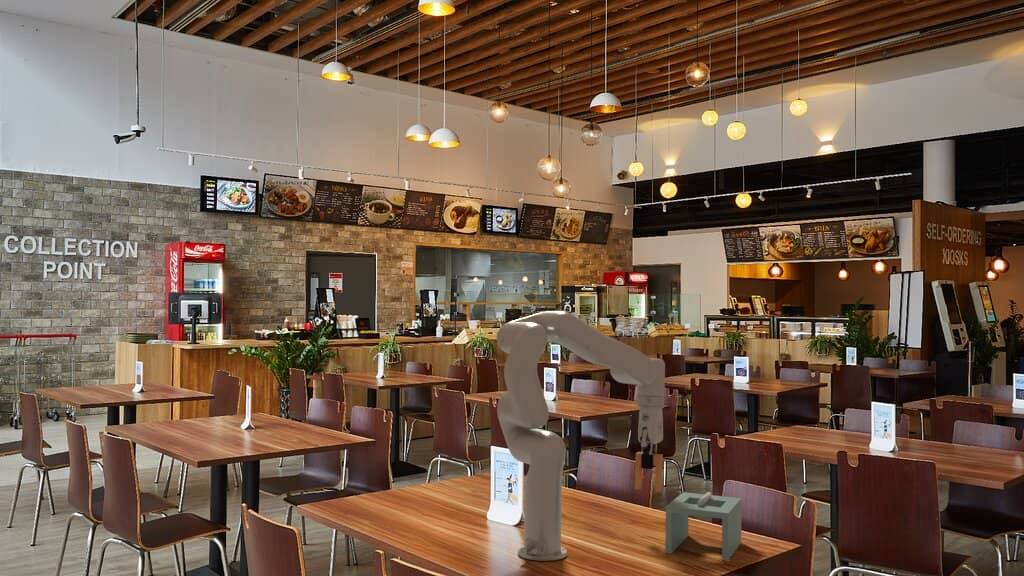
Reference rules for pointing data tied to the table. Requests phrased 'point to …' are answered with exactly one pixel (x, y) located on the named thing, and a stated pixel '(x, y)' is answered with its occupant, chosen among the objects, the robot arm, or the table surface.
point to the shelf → (682, 509)
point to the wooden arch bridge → (658, 472)
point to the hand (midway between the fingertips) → (648, 467)
